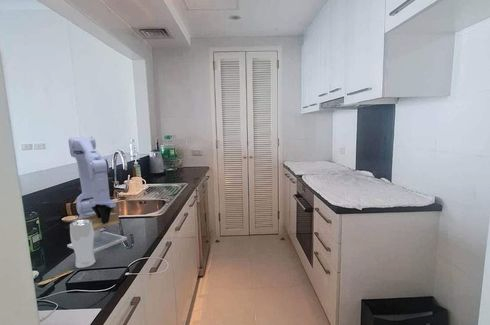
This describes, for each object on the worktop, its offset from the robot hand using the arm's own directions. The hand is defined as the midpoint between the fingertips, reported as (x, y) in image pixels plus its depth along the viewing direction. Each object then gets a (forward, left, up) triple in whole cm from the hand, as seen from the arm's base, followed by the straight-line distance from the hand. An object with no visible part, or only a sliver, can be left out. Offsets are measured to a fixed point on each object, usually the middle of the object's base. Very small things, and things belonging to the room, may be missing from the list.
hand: (104, 222), depth 109 cm
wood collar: (-5, 0, -2) cm, 6 cm away
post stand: (-5, 0, -9) cm, 11 cm away
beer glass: (+9, -13, -10) cm, 19 cm away
